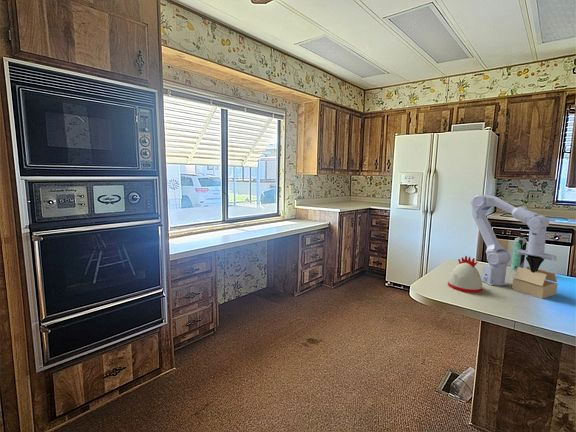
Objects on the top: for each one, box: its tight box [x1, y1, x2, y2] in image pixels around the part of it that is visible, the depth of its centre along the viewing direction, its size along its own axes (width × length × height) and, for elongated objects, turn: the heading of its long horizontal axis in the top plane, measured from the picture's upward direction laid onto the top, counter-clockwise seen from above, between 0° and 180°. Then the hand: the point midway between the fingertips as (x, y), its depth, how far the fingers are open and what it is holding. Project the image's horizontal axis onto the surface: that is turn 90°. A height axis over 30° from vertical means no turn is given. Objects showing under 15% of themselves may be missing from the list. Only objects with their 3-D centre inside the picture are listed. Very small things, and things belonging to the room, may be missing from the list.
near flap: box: [513, 267, 547, 286], centre depth 140 cm, size 6×11×1 cm
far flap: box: [526, 265, 558, 283], centre depth 145 cm, size 6×11×1 cm
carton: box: [511, 277, 559, 300], centre depth 144 cm, size 12×12×5 cm
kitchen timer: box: [447, 255, 483, 294], centre depth 146 cm, size 14×14×15 cm
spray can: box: [510, 234, 528, 272], centre depth 174 cm, size 6×6×20 cm
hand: (534, 273), depth 140 cm, fingers closed, pressing on near flap
